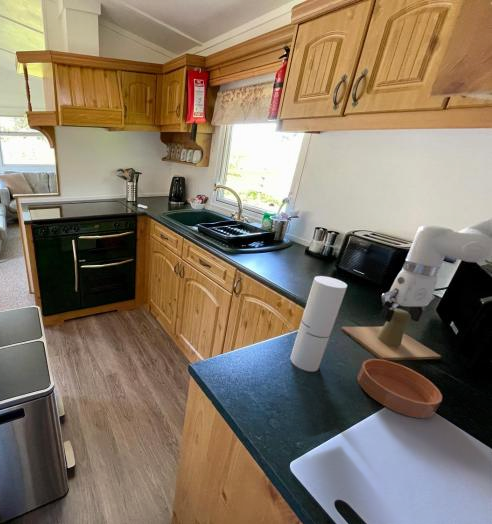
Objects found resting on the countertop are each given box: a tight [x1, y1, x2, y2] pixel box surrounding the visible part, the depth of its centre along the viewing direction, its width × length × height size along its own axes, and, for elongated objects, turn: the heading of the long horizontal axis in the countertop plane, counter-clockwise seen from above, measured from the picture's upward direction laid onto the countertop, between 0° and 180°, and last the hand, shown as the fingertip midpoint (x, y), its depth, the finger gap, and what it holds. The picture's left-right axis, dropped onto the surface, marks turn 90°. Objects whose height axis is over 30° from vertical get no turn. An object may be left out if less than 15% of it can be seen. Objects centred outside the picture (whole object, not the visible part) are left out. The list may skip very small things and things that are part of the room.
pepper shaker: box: [377, 307, 412, 346], centre depth 91 cm, size 6×6×11 cm
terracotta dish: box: [357, 358, 443, 419], centre depth 71 cm, size 15×15×4 cm
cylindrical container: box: [289, 275, 348, 372], centre depth 77 cm, size 7×7×25 cm
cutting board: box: [340, 326, 442, 361], centre depth 93 cm, size 20×16×1 cm
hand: (398, 319), depth 90 cm, fingers open, 9 cm apart
